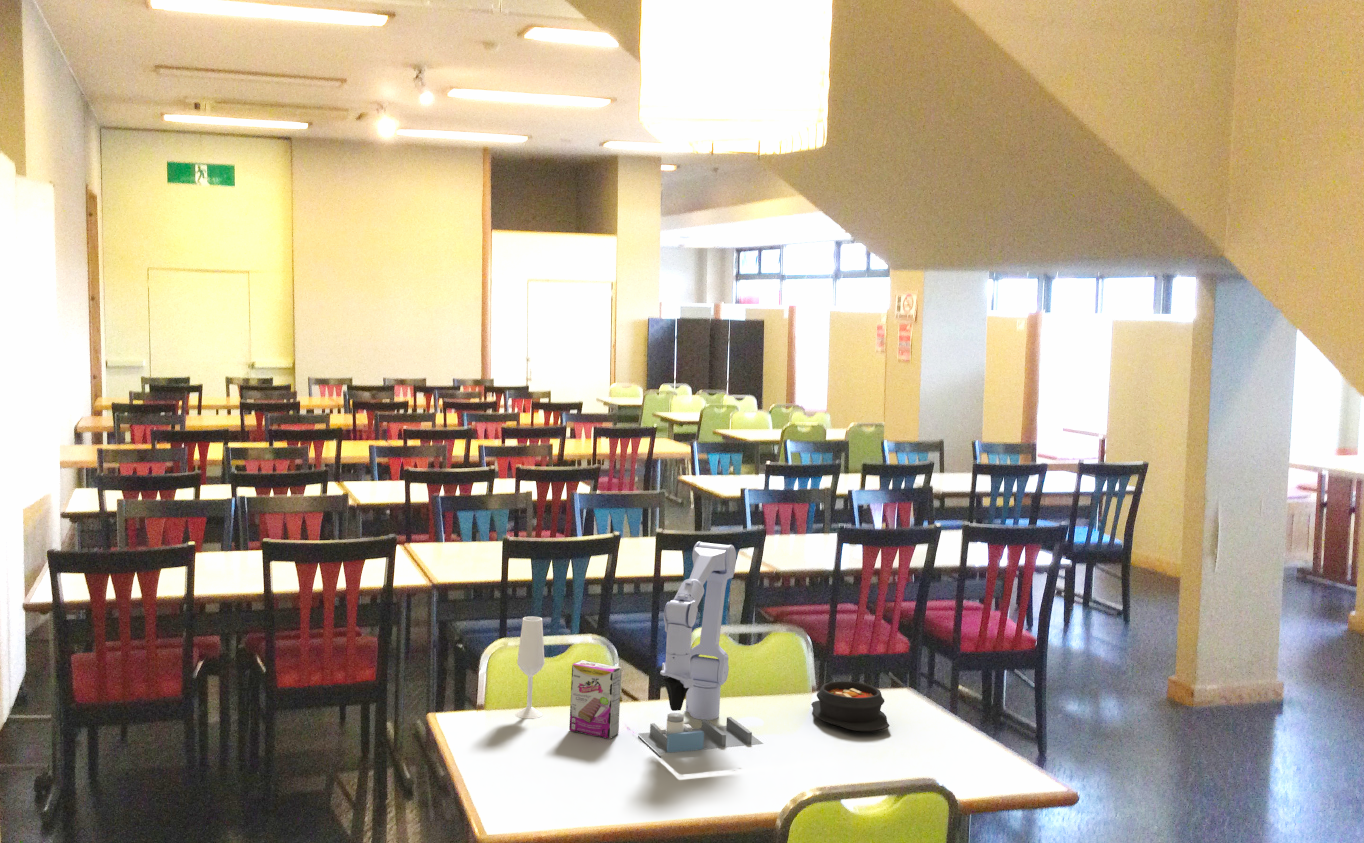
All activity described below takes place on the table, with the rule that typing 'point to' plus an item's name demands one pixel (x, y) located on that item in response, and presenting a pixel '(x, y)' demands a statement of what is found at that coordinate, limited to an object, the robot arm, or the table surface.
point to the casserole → (851, 706)
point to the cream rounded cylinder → (675, 723)
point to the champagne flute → (531, 659)
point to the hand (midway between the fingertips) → (675, 709)
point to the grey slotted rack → (698, 737)
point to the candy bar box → (595, 699)
